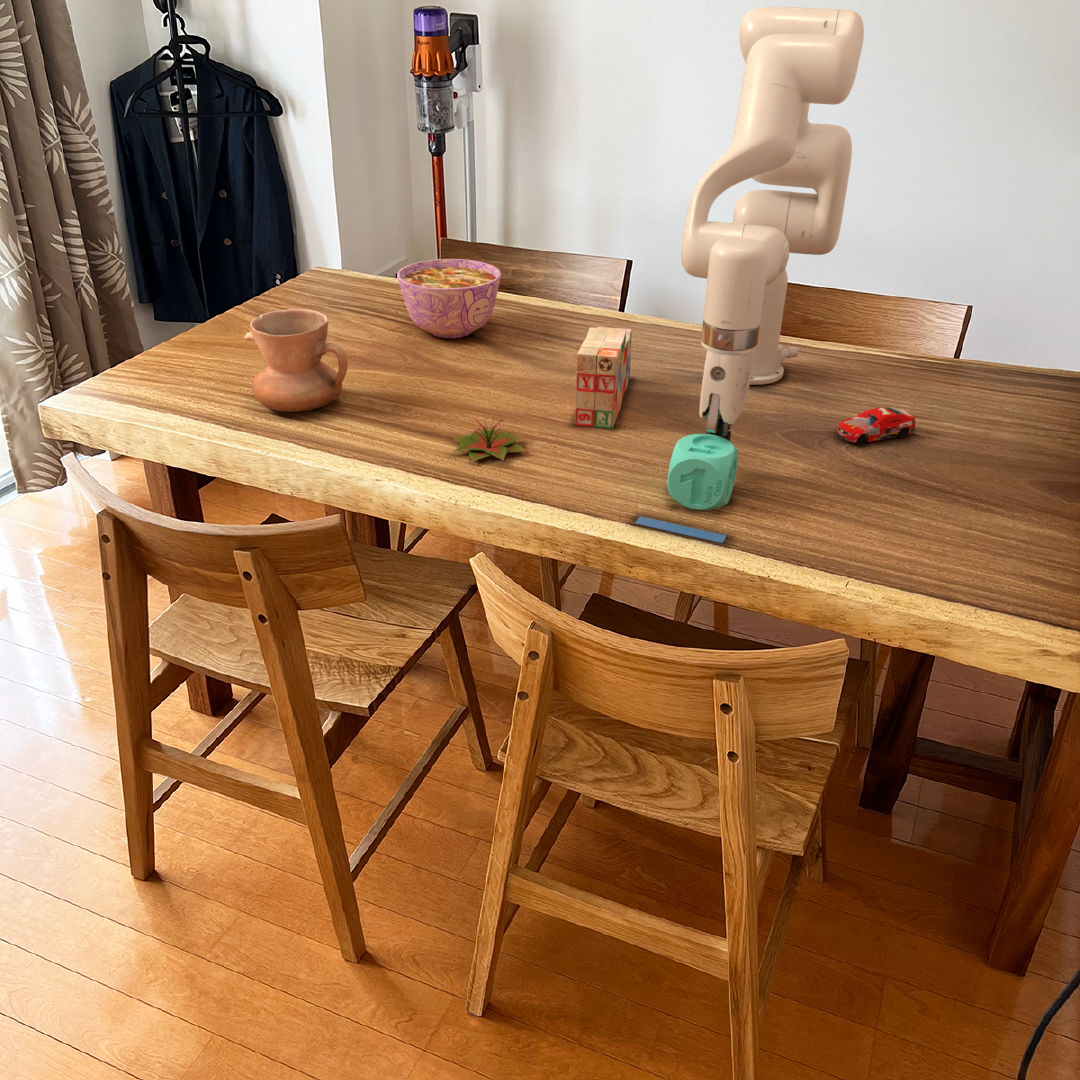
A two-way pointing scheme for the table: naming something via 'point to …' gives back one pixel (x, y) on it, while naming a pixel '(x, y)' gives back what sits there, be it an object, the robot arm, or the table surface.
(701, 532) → the tape line
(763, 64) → the robot arm
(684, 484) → the decorative dice
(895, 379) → the table surface
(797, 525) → the table surface
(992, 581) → the table surface
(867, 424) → the race car
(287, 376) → the ceramic jug
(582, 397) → the stack of blocks
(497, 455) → the lily flower
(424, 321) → the bowl of food
